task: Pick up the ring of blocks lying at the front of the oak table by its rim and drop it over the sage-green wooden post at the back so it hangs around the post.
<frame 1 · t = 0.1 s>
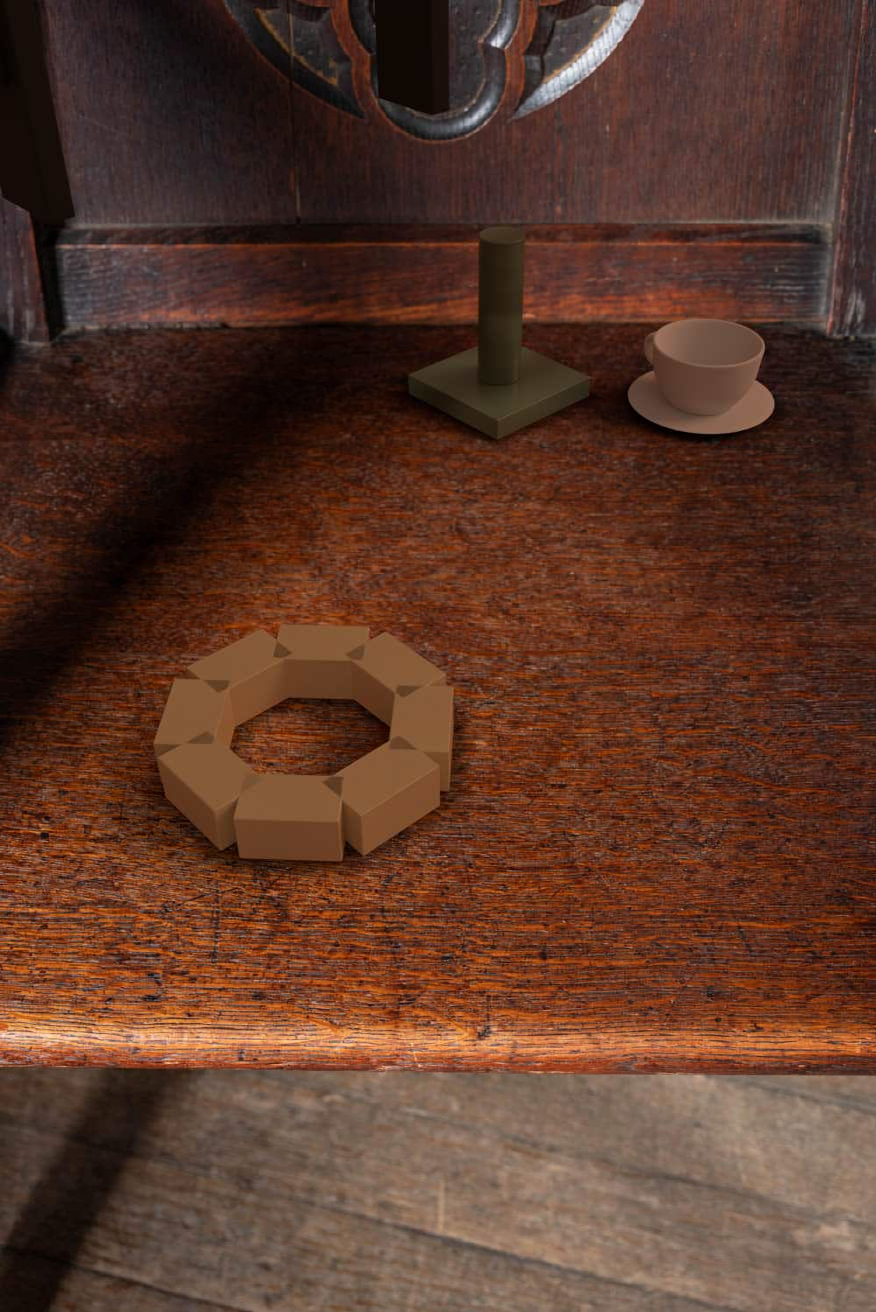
hand: (243, 152, 38), 30 cm above the bench, tool pointing down, fingers open, 13 cm apart
ring of blocks: (310, 753, 61), on the bench
stand: (498, 395, 89), on the bench
teacup: (699, 406, 87), on the bench
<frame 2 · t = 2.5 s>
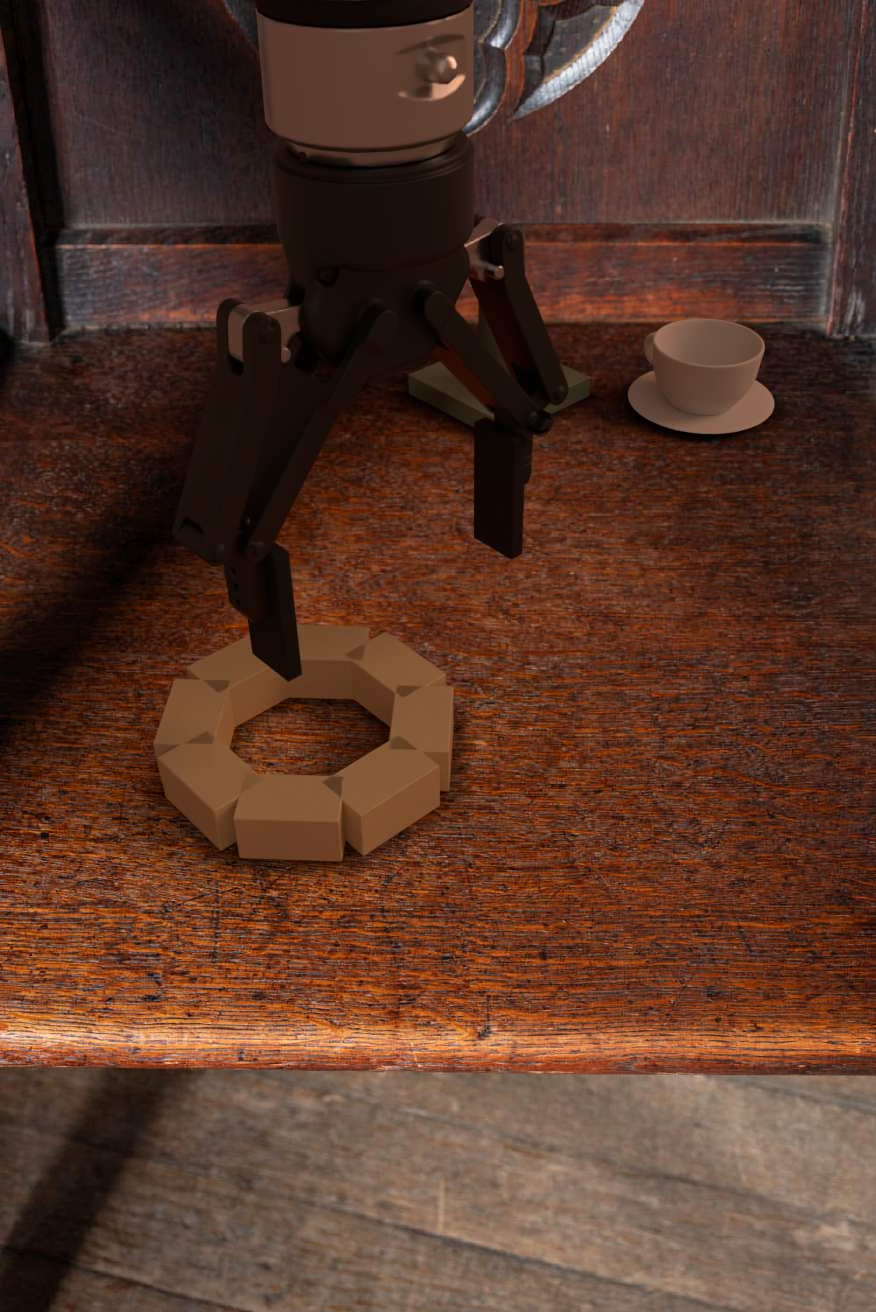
hand: (393, 602, 59), 7 cm above the bench, tool pointing down, fingers open, 13 cm apart
nothing on the bench moved.
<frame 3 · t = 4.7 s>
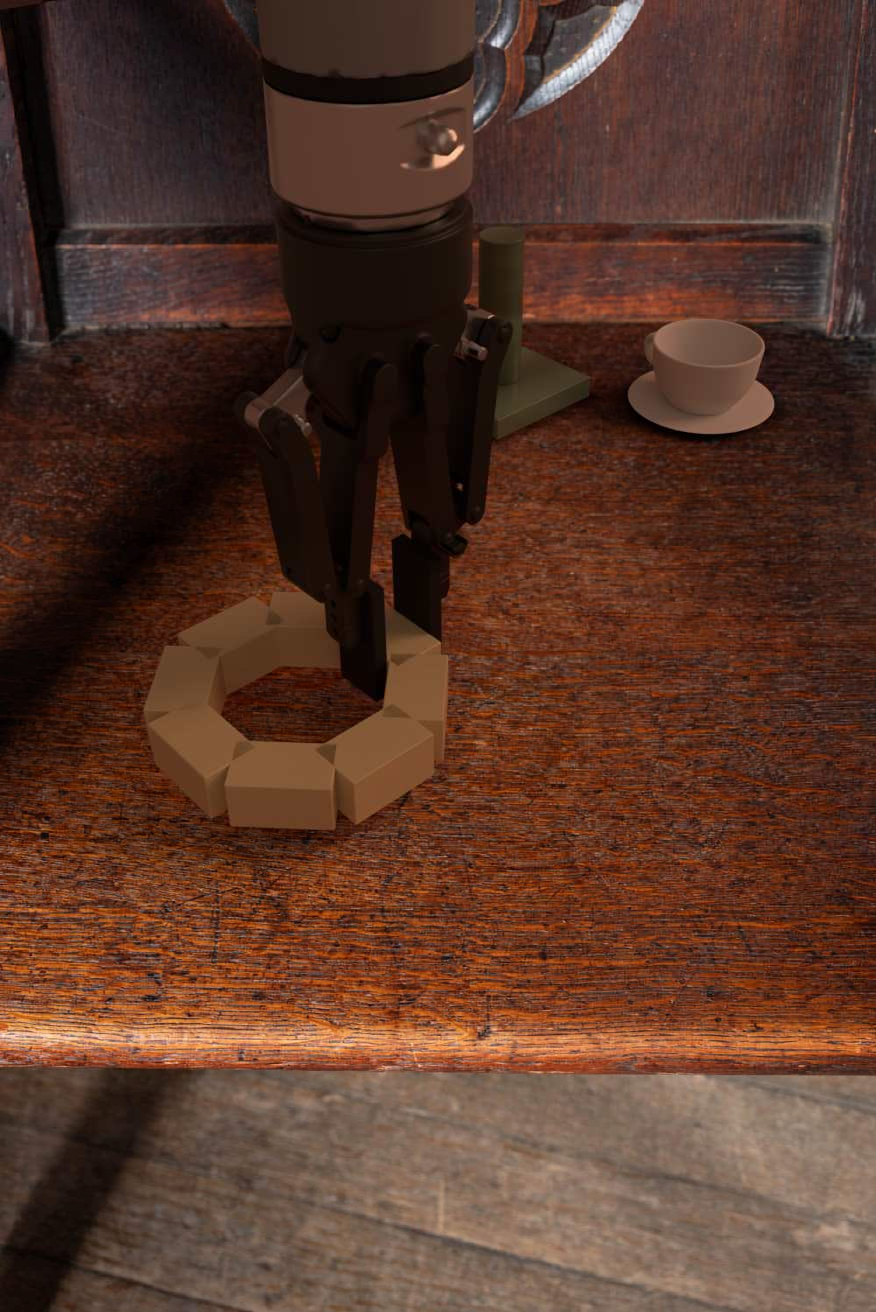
hand: (391, 669, 62), 2 cm above the bench, tool pointing down, fingers closed on ring of blocks, 3 cm apart
ring of blocks: (303, 722, 60), point 2 cm above the bench, touching gripper
everything else where it was.
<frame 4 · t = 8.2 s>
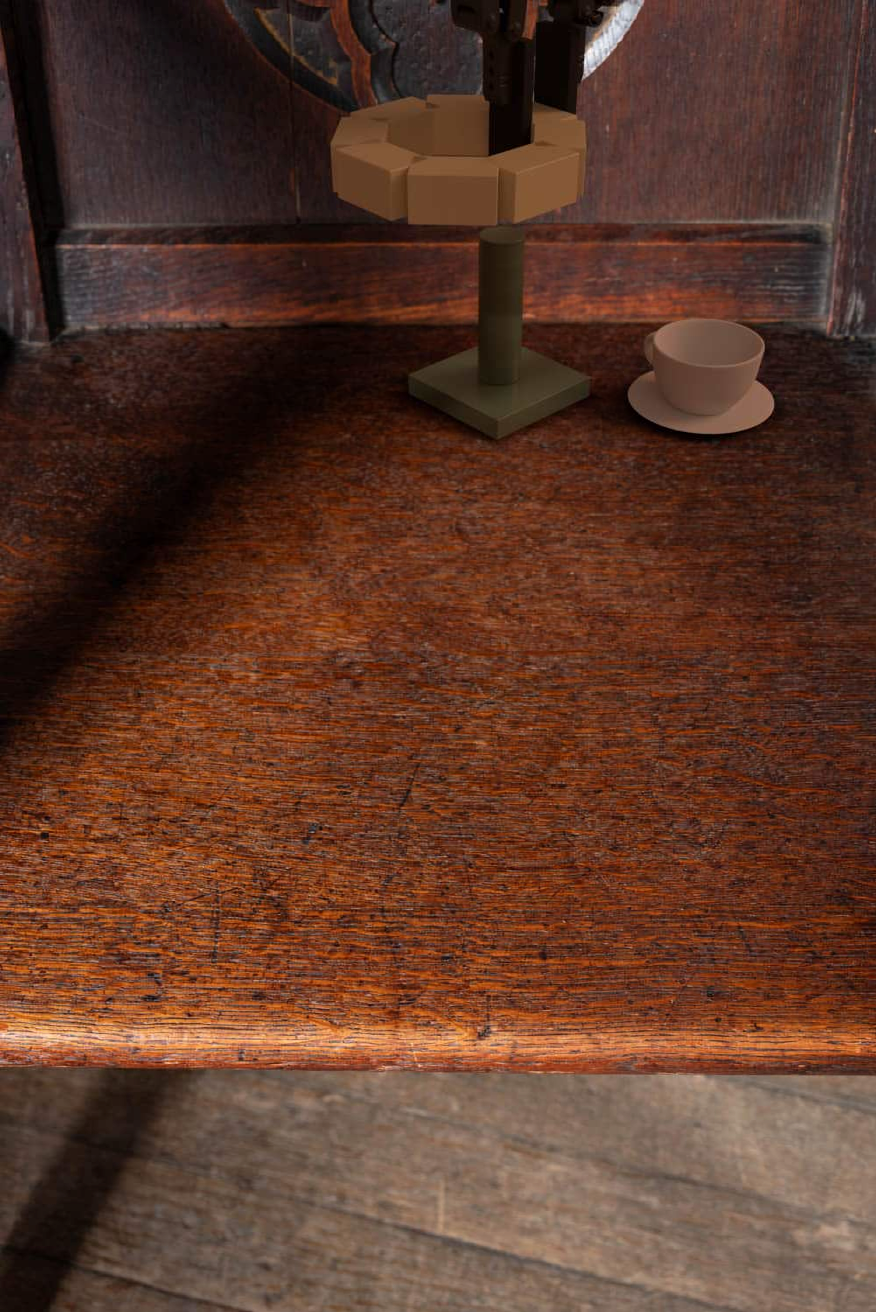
hand: (531, 153, 72), 18 cm above the bench, tool pointing down, fingers closed on ring of blocks, 3 cm apart
ring of blocks: (459, 180, 70), point 18 cm above the bench, touching gripper
everything else where it was.
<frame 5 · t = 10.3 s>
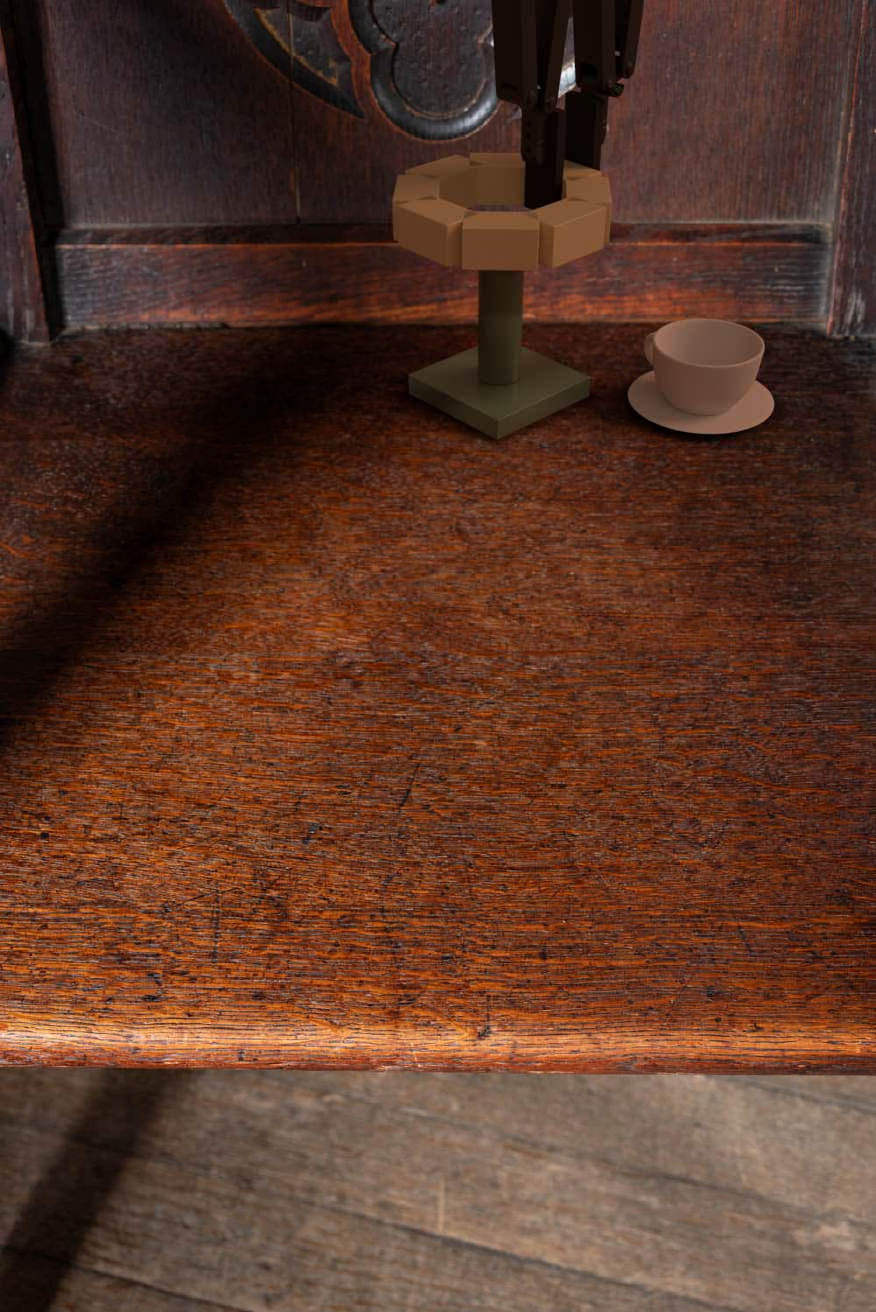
hand: (560, 203, 84), 12 cm above the bench, tool pointing down, fingers closed on ring of blocks, 3 cm apart
ring of blocks: (501, 228, 81), point 12 cm above the bench, touching gripper
everything else where it was.
when the fingers open (8 cm above the bench, at t = 11.8 s): ring of blocks drops 6 cm, resting on stand.
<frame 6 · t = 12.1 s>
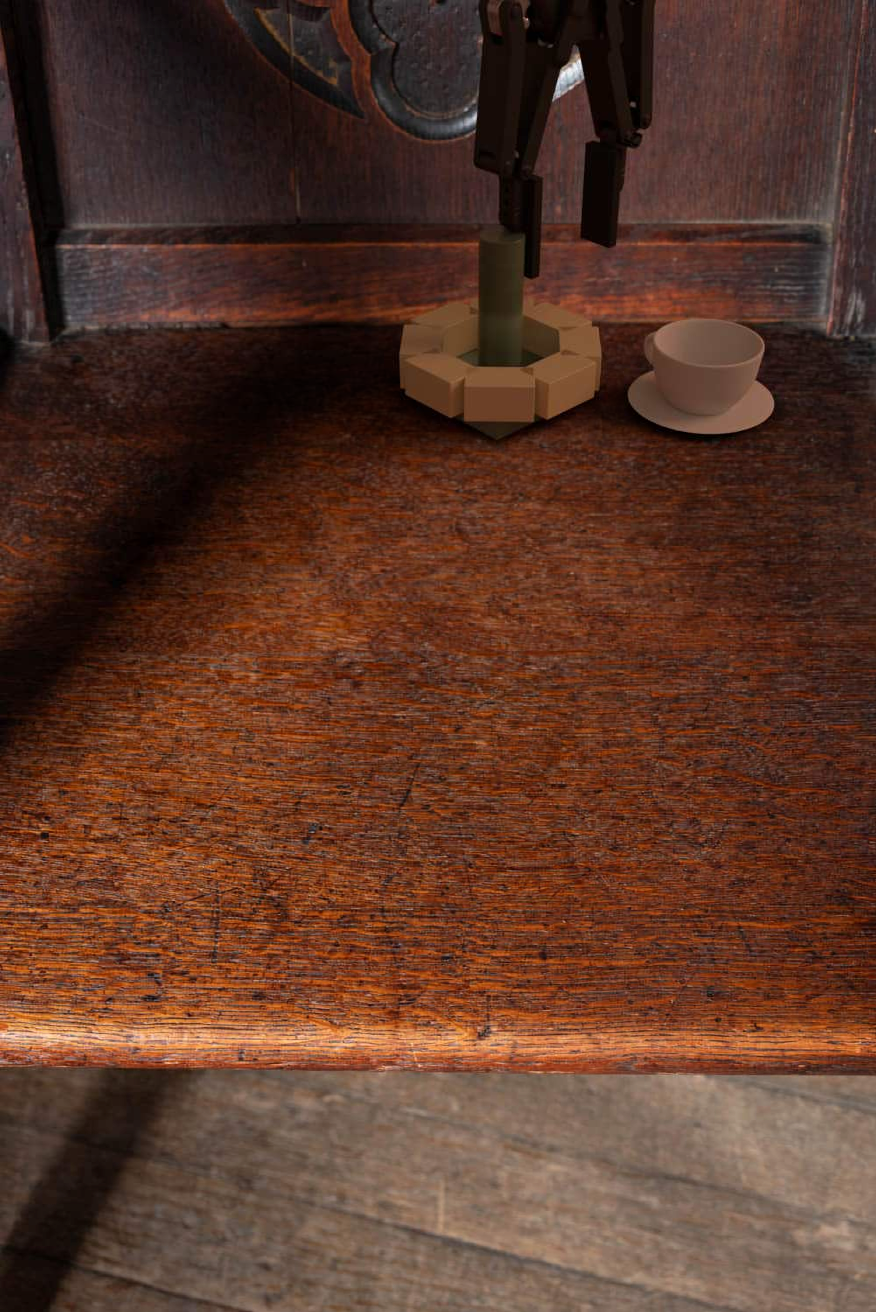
hand: (560, 256, 86), 9 cm above the bench, tool pointing down, fingers open, 7 cm apart
ring of blocks: (499, 374, 88), point 1 cm above the bench, touching stand
everything else where it was.
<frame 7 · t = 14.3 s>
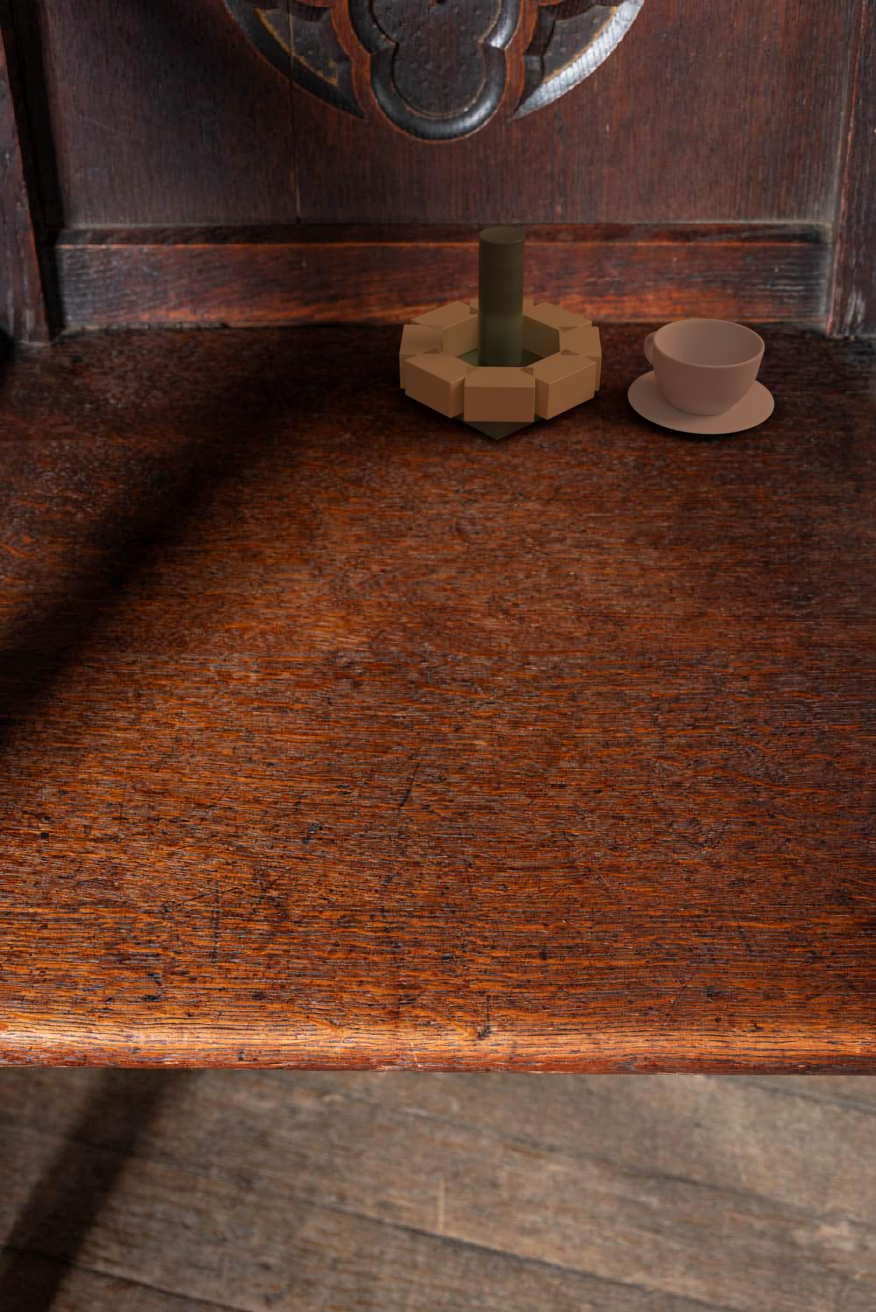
nothing on the bench moved.
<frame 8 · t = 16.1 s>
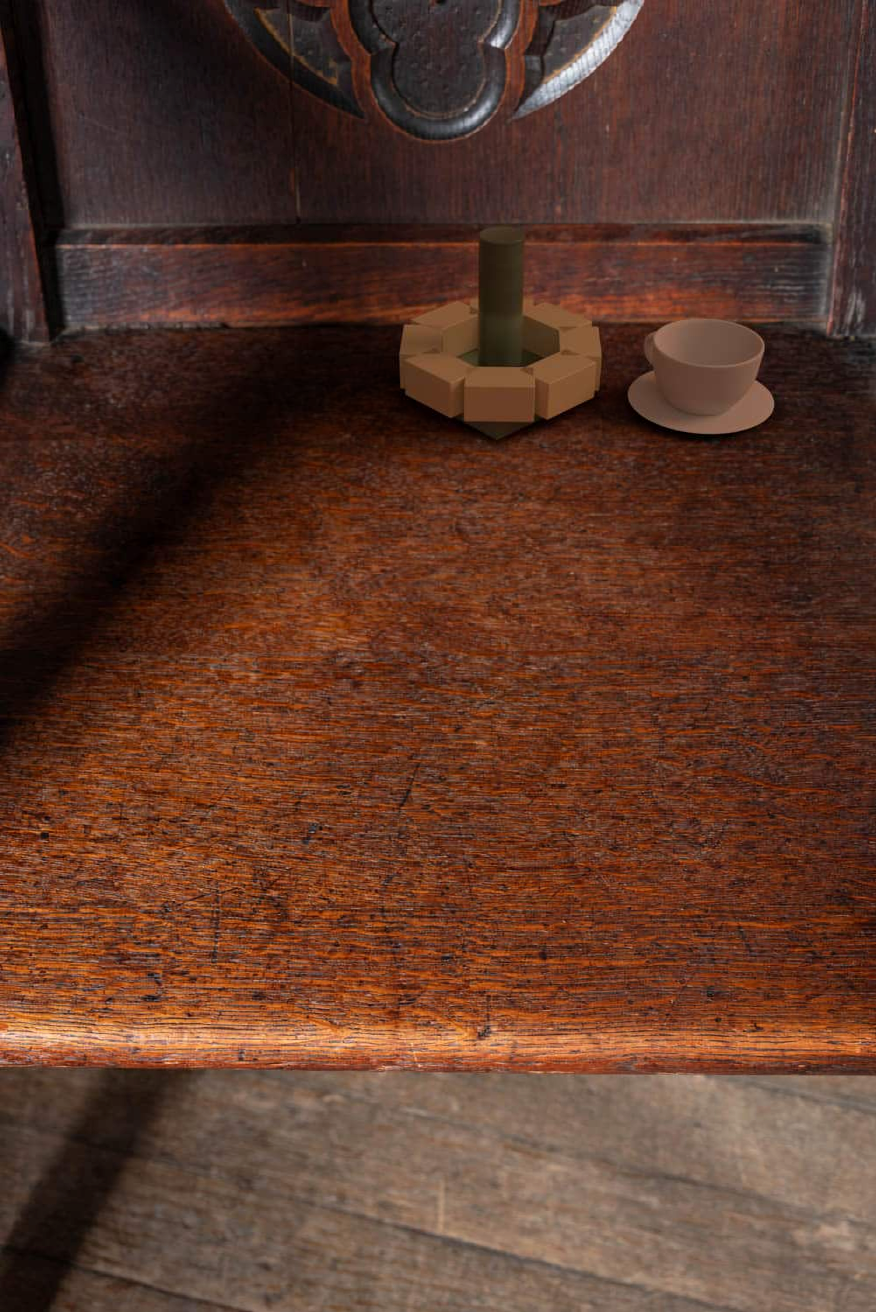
nothing on the bench moved.
at the end: ring of blocks 0.2 cm from the stand (horizontally); ring of blocks point 1.5 cm above the bench; the gripper is holding nothing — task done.
